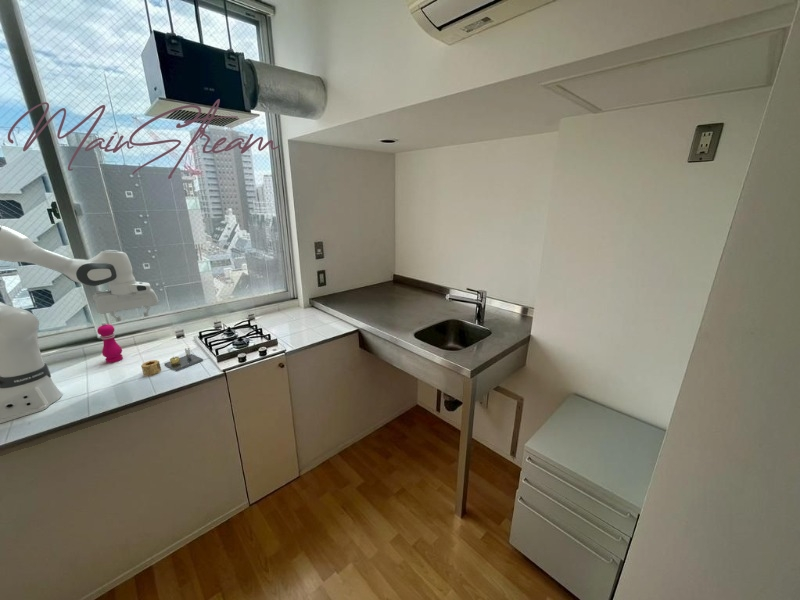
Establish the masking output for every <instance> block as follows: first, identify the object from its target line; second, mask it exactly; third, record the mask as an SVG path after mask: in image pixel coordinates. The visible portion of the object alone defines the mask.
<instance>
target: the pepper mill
mask: <svg viewBox="0 0 800 600" xmlns="http://www.w3.org/2000/svg"><path fill="white" fill-rule="evenodd" d="M97 334H98V335H100V340H102V342H103V347H102V350H101V352H102V357H105V362H106V363H107V364H113V363H117V362H120V361H122V360H123V359H124V356H123V354H122V352H123V348H122V347H121V346H120V345H119V344H118V343H117V342H116V339H115V337H116V335H115V327H114V326H113V325H112V324H108V323H107V322H105V321H102V322H101V325H100V326H98V328H97Z"/></svg>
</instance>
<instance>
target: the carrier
mask: <svg viewBox="0 0 800 600" xmlns="http://www.w3.org/2000/svg"><path fill="white" fill-rule="evenodd" d="M190 350H191V349H190V348H189V347H186V348H184V351H185V355H184V356H180V357H179V356H172V357H171V358H169V361H167V362H165V363H164V366H166V367H167V368H169V369H171V370H172V371H175V372H178V371H181V370H184V369H186V368H189V367H191V366H194V365H196V364H198V363H201V362H204V358H203V357H200V356H198V355H195V354H193V353H191V351H190Z"/></svg>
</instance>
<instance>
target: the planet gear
mask: <svg viewBox="0 0 800 600" xmlns="http://www.w3.org/2000/svg"><path fill="white" fill-rule="evenodd" d="M141 369H142V374H143V375H144V376H146V377H148V376H149V377H150V376H154V375H157V374H160V372H162V368H161V364H160V361H159V360H158V359H154V360H153V359H152V360H149V361H145V362H143V363H142V364H141Z"/></svg>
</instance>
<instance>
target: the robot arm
mask: <svg viewBox="0 0 800 600" xmlns="http://www.w3.org/2000/svg"><path fill="white" fill-rule="evenodd" d="M0 261H4V262H10V263H29V264H33V265H35V266H36V265H37V266H39V267H43V268H45V269H50V270H53V271H54V272H55V271H56V272H57V273H60V274H62V275H63V276H65V278H67V279H68V280H70V281H71V282H73V283H78V284H81V285H84V286H89V287H97V286H100V285H104V284H107V285H108V287H109V289H106V290H100V291H95V292H94V293H92V296H91V298H92V301H93V302H95V306H96V310H97V313H98V314H100V315H102V314H110V316H111V317H113V318H114V319H115V322H121V321H122V318H121V315H120V316H119V315H118V316H117V314H116V312H120V311H127V310H134V309H139V308H145V309H146V310H145V311H143V316H144V318H145V317H149V316H150V315H149V312H150V308H151V306H157V305H158V304H159V298H158V296H157V294H156V292H155V290H154V289H153V288H152V287H151V284H150V283H149V282H146V281H145V282H144V281H143V282H142V281H136V278H135V275H134V274H133V273H134V272H133V267H132V263H131V260H130V258H129V256H128V254H127V253H126V252H125V251H123V250H119V249H118V250H115V249H103V250H101V251H100V252H99V253H98V254H96V255H95V256H93V257H92V258H89V259H87V258H78V257H77V258H76V257H75V258H74V257H73V258H72V257H67V256H65V255H61V254H59V253H56V252H54V251H50V250H47V249H45V248H42V247H41V246H39V245H37V244H36V243H34V242H33V240H31V239H30V237H28V236H26V235H24V234H22V233H20V232H19V231H16V230H14V229H12V228H10V227H7V226H5V225H2V224H0ZM39 327H40V321H39V319H38V317H37V316H36V315H35V314H34V313H32V312H31V311H29V310H27V309H24V308H19V307H15V306H11V305H9V304H6V303H4V302H1V301H0V424H3V423H6V422H10V421H13V420H15V419H18V418H22V417H25V416H28V415H33V414H35V413H37V412H38V413H39V412H41V411H44V410H45V409H47V408H49V407H50V406H51V405H52V404H53V403H55V402H57V401H59V400H60V399H61V398H62V396H63V392H61V390H59V389H58V387H57V385H56V384H55V383H54V381H53V379H52V378H51V377H52V375H51V371H50V368H49V365H48V364H46V363H45V361H44V359H43V355H42V353H41V350H40V347H39V342H38V341H39V340H38V339H39V338H38V329H39Z"/></svg>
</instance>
